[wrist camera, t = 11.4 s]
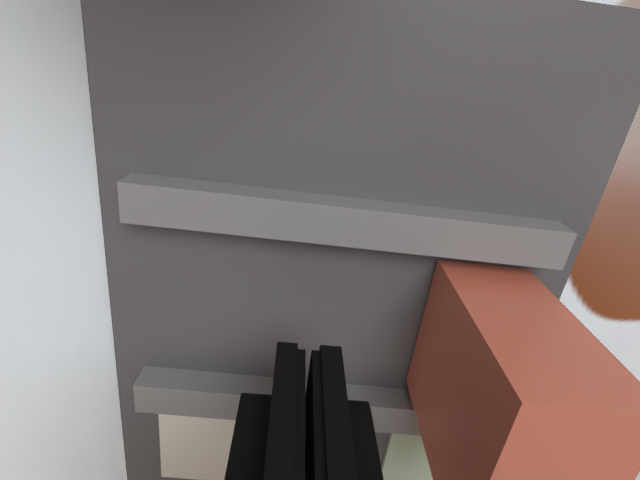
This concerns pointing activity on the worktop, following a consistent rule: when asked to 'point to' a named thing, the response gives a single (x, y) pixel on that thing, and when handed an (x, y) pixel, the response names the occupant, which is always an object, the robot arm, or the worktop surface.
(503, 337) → the handle
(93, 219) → the worktop surface
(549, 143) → the breaker panel
